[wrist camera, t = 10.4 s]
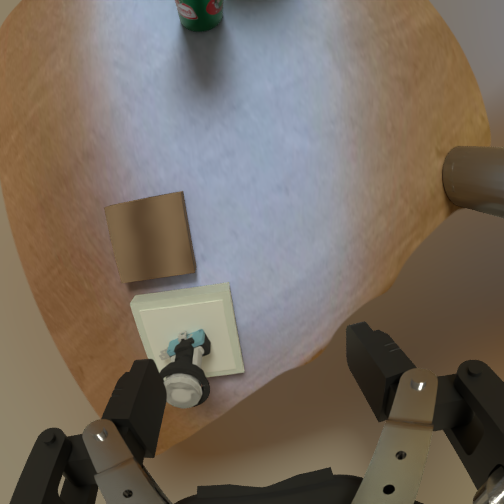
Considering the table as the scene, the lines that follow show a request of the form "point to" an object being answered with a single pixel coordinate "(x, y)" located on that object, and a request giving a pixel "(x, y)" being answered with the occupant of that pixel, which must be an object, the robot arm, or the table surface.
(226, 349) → the cream tray
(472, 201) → the robot arm
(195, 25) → the soda can
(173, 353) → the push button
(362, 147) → the table surface
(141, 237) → the walnut stand
